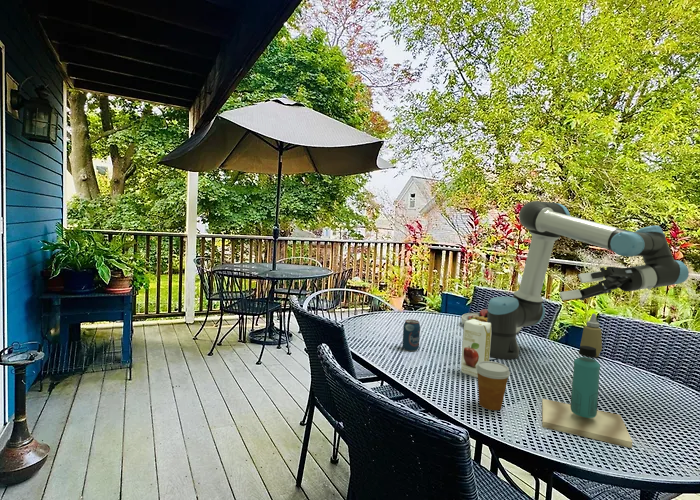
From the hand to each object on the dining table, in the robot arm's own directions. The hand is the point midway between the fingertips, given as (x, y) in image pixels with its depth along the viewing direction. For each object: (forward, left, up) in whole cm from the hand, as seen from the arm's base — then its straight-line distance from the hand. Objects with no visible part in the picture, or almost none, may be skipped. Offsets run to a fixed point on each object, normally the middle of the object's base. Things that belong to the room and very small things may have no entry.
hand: (570, 287), depth 127 cm
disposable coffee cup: (-20, -21, -35) cm, 45 cm away
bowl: (-30, +75, -35) cm, 88 cm away
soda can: (-56, +17, -35) cm, 68 cm away
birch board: (+4, -19, -35) cm, 40 cm away
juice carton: (-28, +3, -35) cm, 45 cm away
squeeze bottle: (+13, +53, -35) cm, 65 cm away
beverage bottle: (+4, -19, -34) cm, 39 cm away
